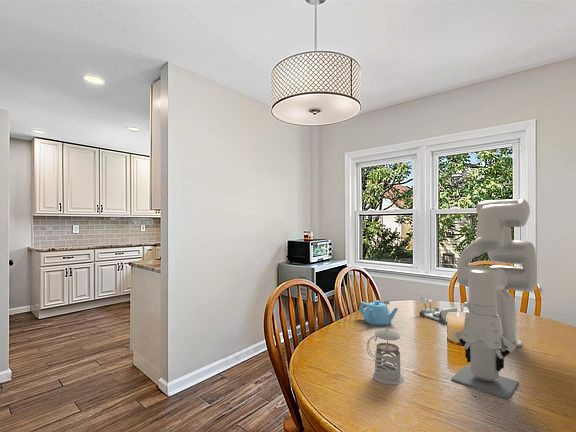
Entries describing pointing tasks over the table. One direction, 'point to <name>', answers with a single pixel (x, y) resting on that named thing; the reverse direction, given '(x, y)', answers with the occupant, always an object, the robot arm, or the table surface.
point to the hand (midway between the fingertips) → (484, 364)
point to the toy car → (435, 311)
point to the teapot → (377, 313)
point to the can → (483, 361)
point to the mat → (486, 383)
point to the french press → (387, 357)
